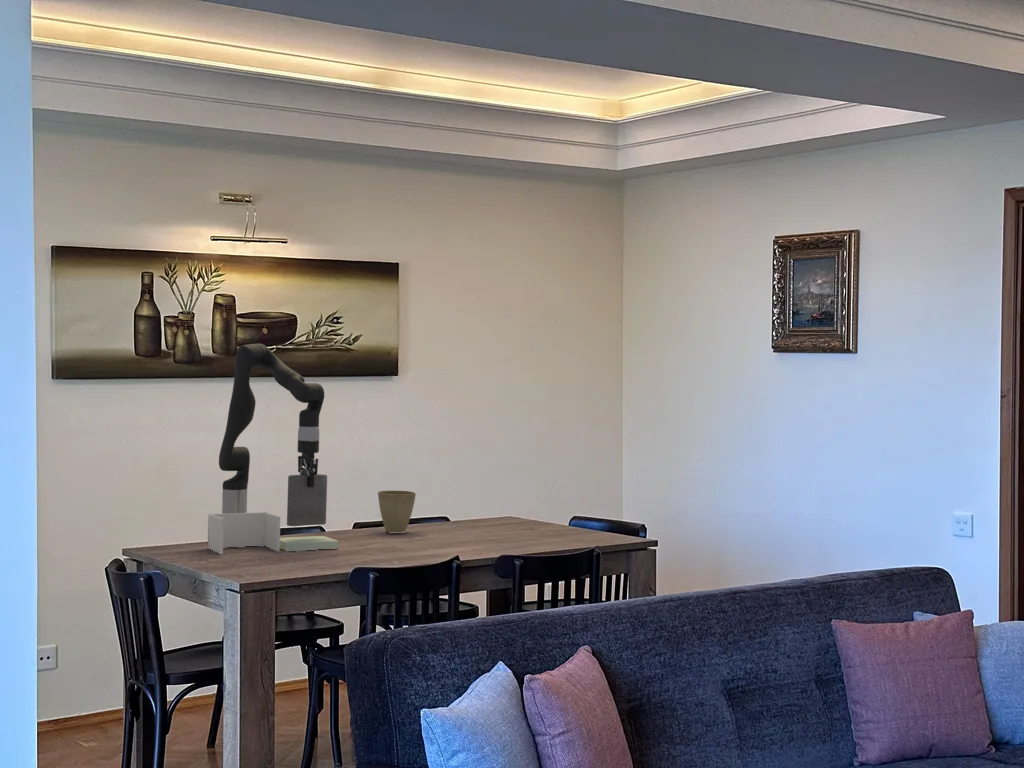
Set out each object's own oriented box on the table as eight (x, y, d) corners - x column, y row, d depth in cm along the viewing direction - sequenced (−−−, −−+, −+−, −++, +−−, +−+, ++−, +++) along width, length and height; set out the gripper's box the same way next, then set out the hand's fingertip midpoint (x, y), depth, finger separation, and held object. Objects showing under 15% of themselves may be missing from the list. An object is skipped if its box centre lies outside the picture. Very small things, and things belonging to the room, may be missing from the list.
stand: (273, 546, 438) (273, 538, 438) (323, 544, 448) (323, 535, 448) (286, 551, 426) (287, 543, 426) (338, 549, 436) (338, 540, 436)
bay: (207, 548, 429) (208, 514, 429) (265, 545, 439) (266, 512, 439) (219, 554, 416) (220, 518, 416) (279, 551, 427) (280, 516, 427)
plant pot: (370, 533, 480) (371, 492, 480) (385, 529, 495) (386, 489, 494) (406, 536, 476) (407, 495, 476) (420, 531, 490) (421, 491, 490)
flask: (320, 522, 444) (321, 467, 444) (328, 524, 439) (330, 468, 439) (283, 524, 435) (284, 468, 434) (291, 526, 430) (292, 469, 430)
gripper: (291, 438, 441) (290, 484, 441) (305, 440, 429) (304, 488, 429) (311, 438, 445) (309, 484, 445) (325, 440, 432) (324, 488, 432)
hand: (307, 486), depth 437 cm, fingers closed on flask, 6 cm apart
